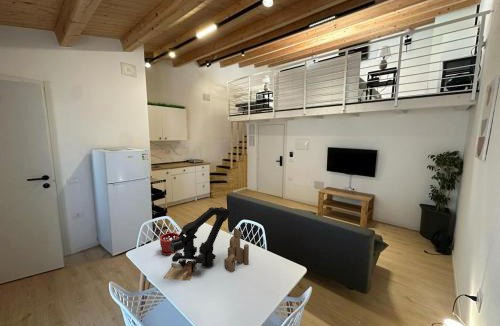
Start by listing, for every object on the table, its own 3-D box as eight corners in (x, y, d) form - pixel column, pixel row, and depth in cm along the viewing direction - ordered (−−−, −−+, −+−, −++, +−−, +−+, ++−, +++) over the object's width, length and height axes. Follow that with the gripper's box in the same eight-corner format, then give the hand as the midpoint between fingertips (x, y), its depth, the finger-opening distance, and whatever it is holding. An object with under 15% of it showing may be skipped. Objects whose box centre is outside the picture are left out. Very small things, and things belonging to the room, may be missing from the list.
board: (197, 268, 139) (197, 263, 139) (189, 282, 126) (189, 276, 125) (173, 266, 141) (173, 261, 140) (162, 280, 127) (162, 274, 127)
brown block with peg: (194, 269, 136) (194, 261, 135) (187, 280, 125) (187, 271, 124) (188, 269, 136) (188, 260, 136) (180, 280, 125) (180, 271, 125)
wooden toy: (230, 273, 135) (230, 233, 132) (224, 268, 140) (224, 230, 137) (249, 263, 145) (250, 227, 142) (243, 259, 150) (243, 224, 147)
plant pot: (156, 254, 156) (155, 237, 154) (170, 246, 167) (170, 230, 166) (169, 259, 150) (169, 242, 148) (183, 250, 161) (183, 234, 160)
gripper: (208, 241, 138) (208, 264, 140) (179, 239, 140) (179, 262, 142) (202, 250, 127) (202, 275, 129) (171, 248, 129) (171, 273, 130)
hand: (189, 271), depth 133 cm, fingers closed on brown block with peg, 4 cm apart
